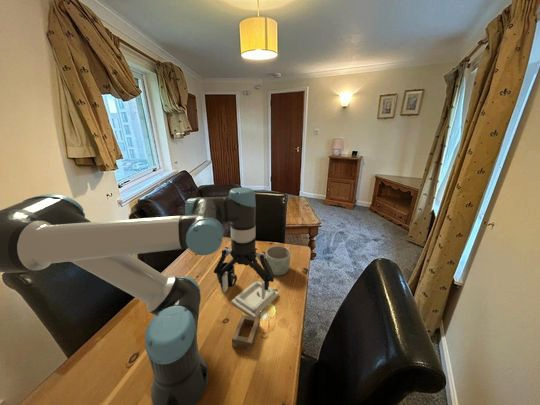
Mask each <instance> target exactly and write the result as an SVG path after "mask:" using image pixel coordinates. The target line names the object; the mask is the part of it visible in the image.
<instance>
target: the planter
mask: <svg viewBox="0 0 540 405" xmlns="http://www.w3.org/2000/svg"><path fill="white" fill-rule="evenodd" d="M291 254H292V252H291V250H290V249H289V248H287V247H286V246H281V245H274V246H270V247H269V248H267V249H266V252H265V255H266V259H267V261H268V263H269V265H270V267H271V269H272V271H273V273H274V275H275V276H284V275H285V274H286V273H287V272H289V269H290V265H291Z"/></svg>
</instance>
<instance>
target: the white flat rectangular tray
mask: <svg viewBox="0 0 540 405" xmlns="http://www.w3.org/2000/svg"><path fill="white" fill-rule="evenodd" d="M277 297H279V292H278V291H276V289H274V288H272V287H270V286H269V287H268V290H266V294H265V297H264V299H262V282H261V281H260V280H255V281H254V282H253V283H251V284H249V286H247V287H246V288H245V289H243V291H241V292H239V294H237V295H236V296H235V297H234V298H233V299H232V300H231V303H232V304H233V305H234V306H236V307H237V308H239V309H240V310H241V311H243V312H244V313H246V314H247V316H251V317H256V318H258V316H259V315H260V314H261V313H260V311H261V310H262V309H264V308H265V307H266V306H267V305H268V304H269V305H270V304H271V303H272V302H273V301H274V300H276V298H277ZM269 305H268V306H269ZM268 306H267V307H268ZM267 307H266V308H267ZM266 308H265V309H266ZM265 309H264V310H265ZM259 313H260V314H259ZM258 314H259V315H258Z"/></svg>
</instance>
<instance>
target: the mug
mask: <svg viewBox="0 0 540 405" xmlns="http://www.w3.org/2000/svg"><path fill="white" fill-rule="evenodd" d="M228 263H229V261H228V262H223V264H222V266H221V267H220V268H221V269H222V268H224V267H225V266H226V265H227V264H228ZM235 270H236V269H235V264H234V265H233V266H231V267H230V268H229V269H228V270H227V271H226V272H227V276H228V288H227V289H229V288H234V286H235V285H236V283H237V281H238V275H237V274H235ZM216 279H217V280H218V283H219V285H220V287H221V288H222V289H223V284H222V283H221V282H220V275H219V274H218V273H216Z"/></svg>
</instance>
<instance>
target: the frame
mask: <svg viewBox="0 0 540 405" xmlns="http://www.w3.org/2000/svg"><path fill="white" fill-rule="evenodd" d="M259 325H260V326H261V320H260V318H259V317H251V316H250V315H245V314H241V316H240V318H239V320H238V323H237V325H236V328H235V330H234V332H233V334H232V337H231V346H232V347H234V348H238V349H243V350H247V351H251V352H252V351H253V349H254V345H255V342H256V340H257V336H258V332H259V330H260V327H259ZM245 327H249V328H251V330H250V334H249V336H248V337H245V336H243V335H242V334H243V331H244V329H245Z"/></svg>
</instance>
